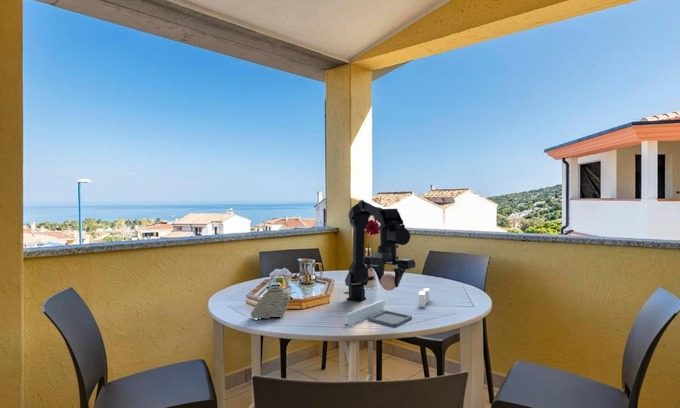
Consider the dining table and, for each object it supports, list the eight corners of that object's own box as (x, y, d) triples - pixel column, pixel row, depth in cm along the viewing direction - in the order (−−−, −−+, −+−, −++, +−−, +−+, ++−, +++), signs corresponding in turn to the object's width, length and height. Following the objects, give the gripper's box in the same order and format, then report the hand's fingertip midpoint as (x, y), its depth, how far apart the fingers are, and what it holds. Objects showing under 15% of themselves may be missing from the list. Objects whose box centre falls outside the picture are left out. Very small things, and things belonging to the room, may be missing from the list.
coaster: (368, 320, 126) (368, 317, 126) (385, 312, 135) (385, 310, 135) (395, 327, 119) (395, 324, 119) (411, 318, 128) (411, 315, 128)
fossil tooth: (251, 320, 132) (290, 311, 138) (253, 324, 127) (294, 315, 132) (247, 289, 133) (286, 282, 138) (249, 292, 127) (290, 284, 132)
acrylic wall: (344, 324, 123) (344, 313, 123) (380, 309, 139) (380, 299, 139) (351, 326, 121) (351, 314, 121) (386, 310, 137) (386, 300, 137)
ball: (377, 290, 127) (376, 273, 127) (386, 287, 131) (386, 271, 131) (391, 293, 123) (391, 275, 123) (400, 289, 127) (400, 273, 127)
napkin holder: (423, 310, 139) (422, 296, 139) (403, 303, 148) (402, 290, 148) (448, 304, 147) (448, 290, 147) (428, 298, 157) (427, 285, 157)
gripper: (353, 243, 127) (354, 286, 127) (399, 246, 115) (399, 294, 115) (371, 240, 136) (372, 281, 135) (415, 243, 123) (416, 287, 123)
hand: (389, 285), depth 127 cm, fingers closed on ball, 6 cm apart
